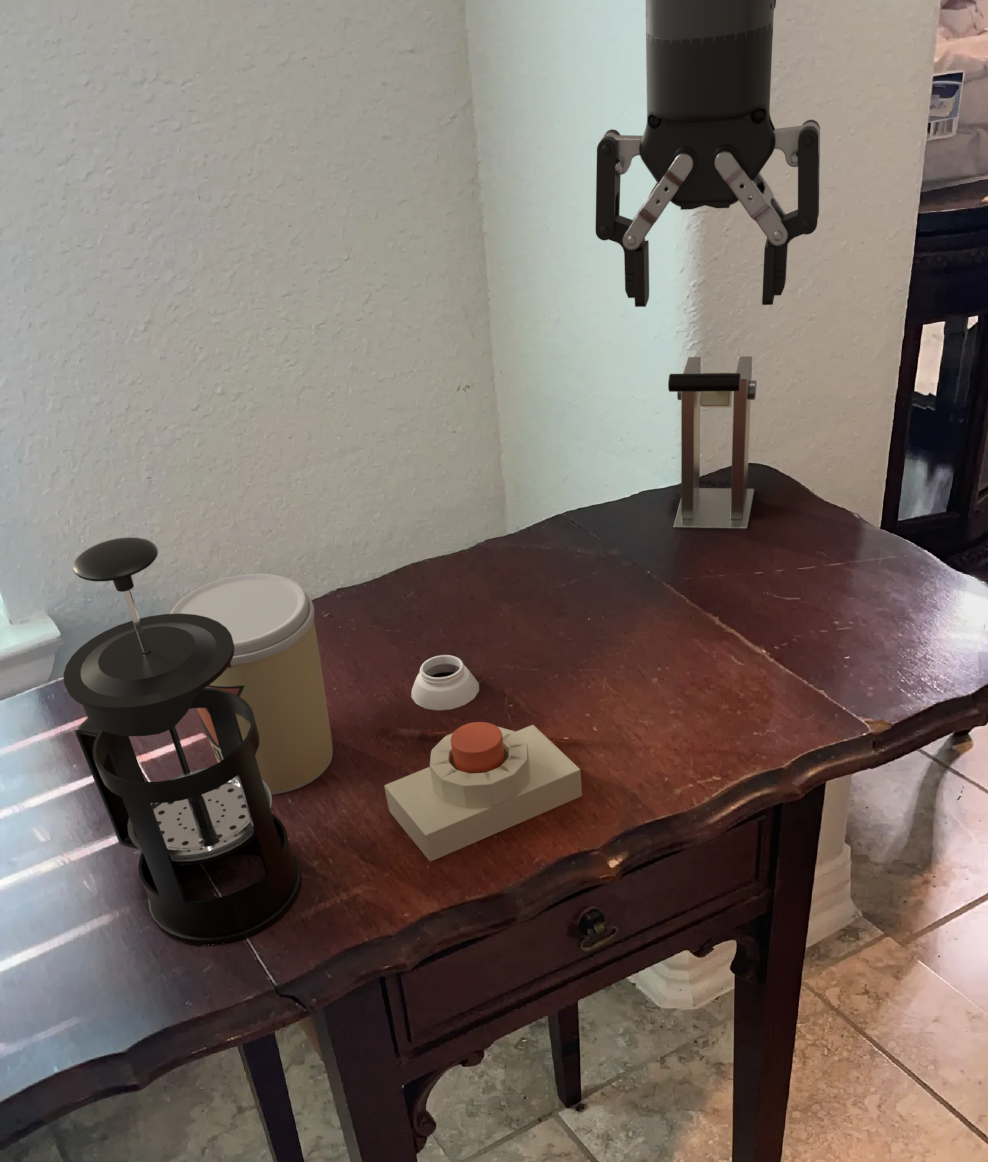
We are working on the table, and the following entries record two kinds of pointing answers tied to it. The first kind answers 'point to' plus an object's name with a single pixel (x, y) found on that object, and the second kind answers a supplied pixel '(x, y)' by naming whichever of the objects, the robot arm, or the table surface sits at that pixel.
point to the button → (477, 747)
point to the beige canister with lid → (271, 673)
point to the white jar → (444, 684)
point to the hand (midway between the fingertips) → (704, 302)
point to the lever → (707, 387)
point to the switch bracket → (699, 503)
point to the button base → (482, 793)
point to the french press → (195, 798)
